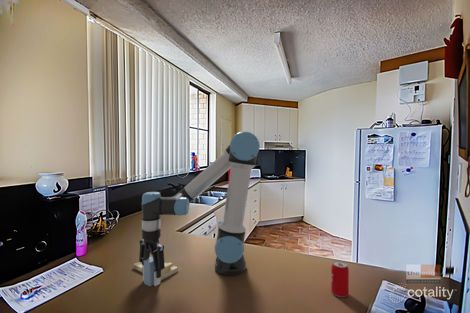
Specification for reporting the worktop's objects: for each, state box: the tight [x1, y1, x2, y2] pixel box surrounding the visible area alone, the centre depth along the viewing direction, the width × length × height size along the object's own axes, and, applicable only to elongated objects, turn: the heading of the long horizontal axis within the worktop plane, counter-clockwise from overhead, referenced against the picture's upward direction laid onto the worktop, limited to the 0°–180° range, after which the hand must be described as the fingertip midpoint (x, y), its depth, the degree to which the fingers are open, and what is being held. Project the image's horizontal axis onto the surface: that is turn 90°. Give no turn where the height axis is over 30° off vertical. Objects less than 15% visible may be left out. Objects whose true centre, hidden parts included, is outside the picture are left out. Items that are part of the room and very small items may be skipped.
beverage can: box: [330, 260, 350, 298], centre depth 96 cm, size 6×6×12 cm
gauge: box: [143, 256, 174, 287], centre depth 108 cm, size 4×13×10 cm, turn 145°
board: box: [132, 256, 179, 282], centre depth 116 cm, size 20×10×2 cm, turn 55°
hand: (151, 281), depth 105 cm, fingers open, 7 cm apart
